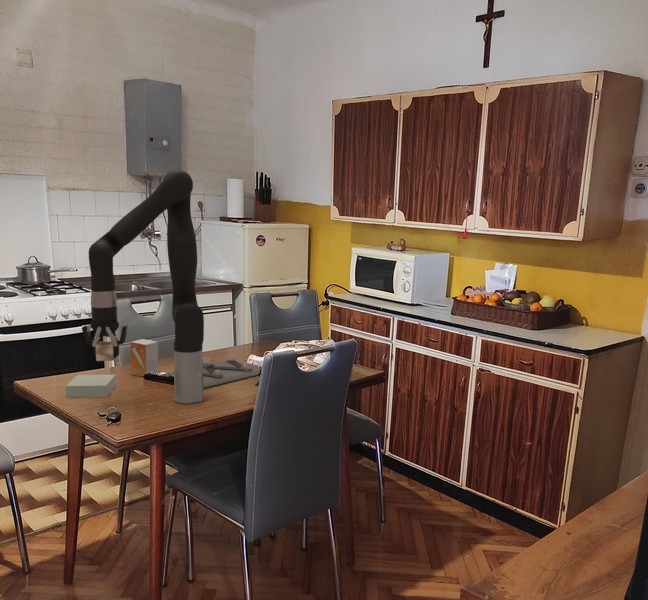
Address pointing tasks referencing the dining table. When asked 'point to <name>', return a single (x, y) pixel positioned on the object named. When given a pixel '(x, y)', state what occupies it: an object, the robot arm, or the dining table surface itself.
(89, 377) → the plate
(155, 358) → the small box
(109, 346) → the maple cube
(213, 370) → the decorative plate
